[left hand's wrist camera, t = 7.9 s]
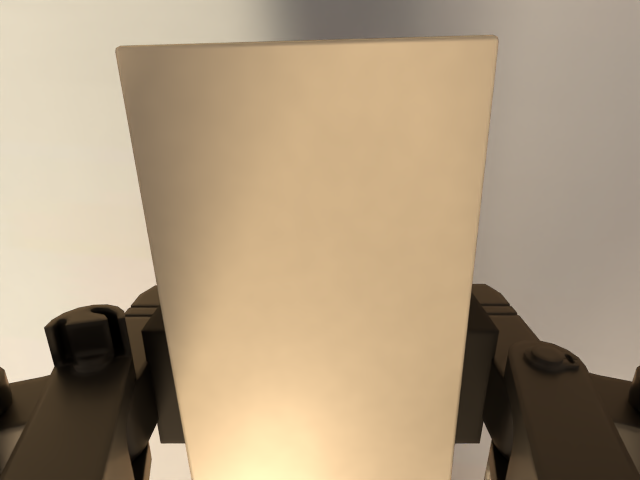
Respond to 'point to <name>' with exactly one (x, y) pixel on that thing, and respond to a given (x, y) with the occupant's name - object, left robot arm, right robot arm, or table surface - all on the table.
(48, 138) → the table surface
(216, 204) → the beam
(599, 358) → the table surface
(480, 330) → the left robot arm
